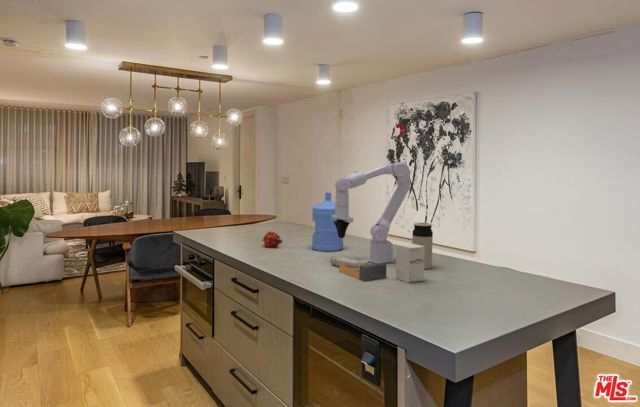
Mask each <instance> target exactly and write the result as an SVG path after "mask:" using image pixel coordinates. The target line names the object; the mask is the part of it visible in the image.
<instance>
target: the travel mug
mask: <svg viewBox="0 0 640 407" xmlns="http://www.w3.org/2000/svg"><path fill="white" fill-rule="evenodd" d="M413 226H414V229H413V230H412V239H411V241H412V243H411V244H416V245H420V246H424V247H425V255H424V270H429V269H432V267H433V234H434V232H433V230H432V226H433V224H432V223H429V222H414V223H413Z"/></svg>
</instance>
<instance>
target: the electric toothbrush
mask: <svg viewBox="0 0 640 407" xmlns="http://www.w3.org/2000/svg"><path fill="white" fill-rule="evenodd" d="M330 264H331V265H332V266H334V267H338V268H339V265H344V266H347V267H350V268H353V269H355V270H358V271H359V266H361V265H369V261H366V259H365V260H364V259H362V260H358V259H353V258H348V257H343V256H341V255H336V256H332V257H331V258H330ZM356 268H358V269H356Z"/></svg>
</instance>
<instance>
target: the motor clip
mask: <svg viewBox="0 0 640 407" xmlns="http://www.w3.org/2000/svg"><path fill="white" fill-rule="evenodd" d="M356 269H358V268H350V267H347V266H344V265H339V267H338V271H339V272H340V273H343V274H346V275H348V276H350V277H353V278H356V279H358V280H360V281H363V282H369V281H374V280H382V279H386V278H387V263H377V264H376V263H371V264H369V265H361V266H359V271H358V270H356Z"/></svg>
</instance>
